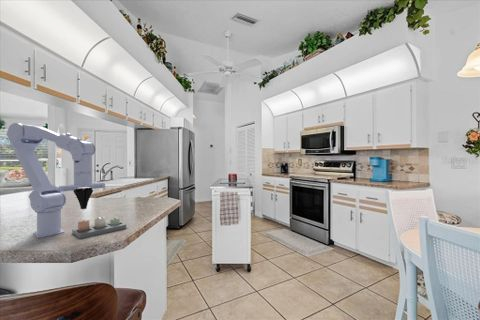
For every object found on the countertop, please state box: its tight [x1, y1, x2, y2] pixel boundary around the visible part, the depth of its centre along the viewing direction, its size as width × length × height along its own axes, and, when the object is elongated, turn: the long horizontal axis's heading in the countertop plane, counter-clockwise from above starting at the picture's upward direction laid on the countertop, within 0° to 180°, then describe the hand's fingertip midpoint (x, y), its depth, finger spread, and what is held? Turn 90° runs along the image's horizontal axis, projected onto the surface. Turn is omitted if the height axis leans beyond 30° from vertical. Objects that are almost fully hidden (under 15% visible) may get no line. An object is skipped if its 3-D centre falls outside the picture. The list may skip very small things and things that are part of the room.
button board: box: [71, 221, 127, 239], centre depth 91 cm, size 10×16×2 cm, turn 139°
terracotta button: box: [77, 219, 91, 232], centre depth 87 cm, size 4×4×4 cm
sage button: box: [109, 217, 121, 226], centre depth 95 cm, size 4×4×4 cm
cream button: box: [94, 216, 106, 228], centre depth 91 cm, size 4×4×4 cm
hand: (83, 208), depth 87 cm, fingers closed
